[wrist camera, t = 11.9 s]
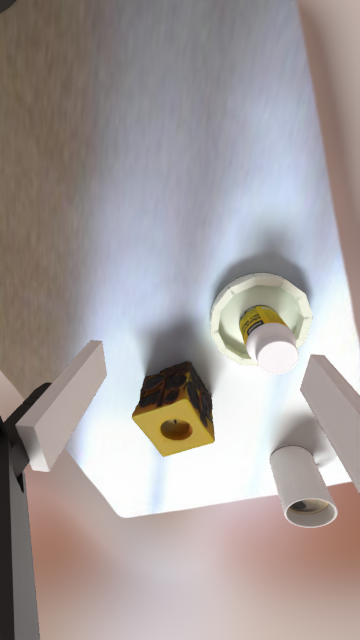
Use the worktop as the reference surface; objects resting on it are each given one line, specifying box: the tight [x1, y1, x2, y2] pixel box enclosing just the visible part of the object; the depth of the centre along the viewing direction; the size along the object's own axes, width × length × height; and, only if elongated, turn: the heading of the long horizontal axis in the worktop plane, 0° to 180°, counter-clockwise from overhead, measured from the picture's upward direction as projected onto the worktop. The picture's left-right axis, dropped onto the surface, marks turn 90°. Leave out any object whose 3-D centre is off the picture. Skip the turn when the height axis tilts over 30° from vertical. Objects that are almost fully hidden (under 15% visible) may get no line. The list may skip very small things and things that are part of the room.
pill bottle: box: [239, 304, 299, 374], centre depth 32 cm, size 6×6×11 cm
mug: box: [270, 446, 337, 528], centre depth 45 cm, size 11×10×10 cm
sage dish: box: [210, 273, 313, 366], centre depth 36 cm, size 15×15×3 cm
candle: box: [132, 361, 215, 457], centre depth 40 cm, size 10×10×10 cm
